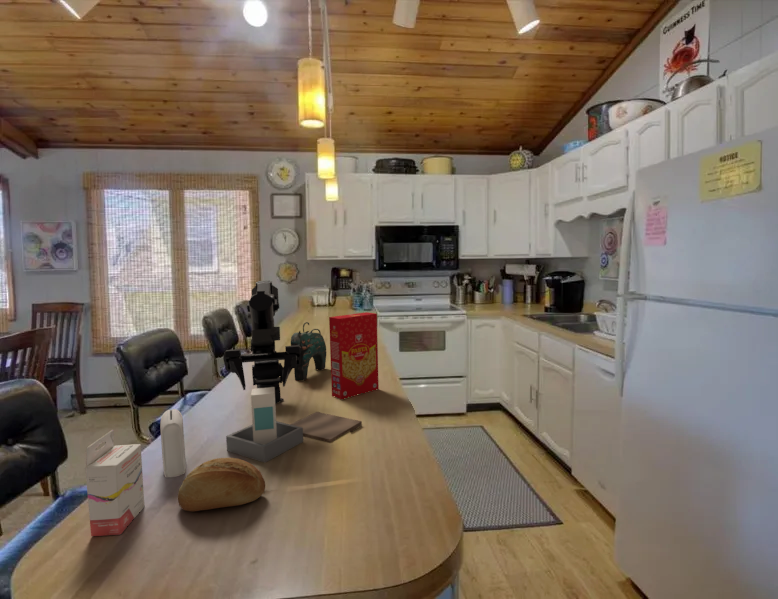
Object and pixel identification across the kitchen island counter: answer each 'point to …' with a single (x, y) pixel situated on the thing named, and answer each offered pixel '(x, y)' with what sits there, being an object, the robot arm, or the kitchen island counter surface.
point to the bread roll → (220, 485)
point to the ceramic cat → (309, 351)
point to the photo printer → (173, 443)
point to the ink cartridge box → (113, 485)
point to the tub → (246, 447)
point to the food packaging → (353, 354)
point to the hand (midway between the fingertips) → (264, 387)
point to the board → (326, 426)
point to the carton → (263, 415)
